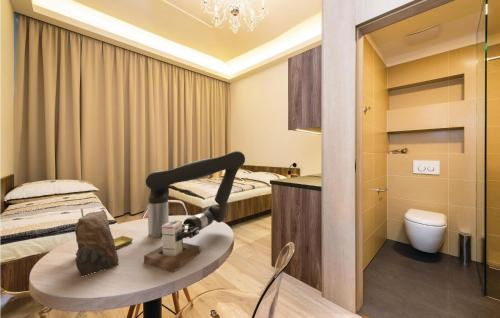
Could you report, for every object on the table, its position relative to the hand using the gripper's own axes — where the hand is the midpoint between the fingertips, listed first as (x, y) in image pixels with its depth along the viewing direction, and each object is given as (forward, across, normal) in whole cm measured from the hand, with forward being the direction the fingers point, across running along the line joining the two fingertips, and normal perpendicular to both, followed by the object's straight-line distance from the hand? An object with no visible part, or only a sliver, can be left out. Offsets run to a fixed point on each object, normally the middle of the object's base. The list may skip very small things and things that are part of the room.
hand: (168, 236), depth 81 cm
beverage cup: (+11, -36, +10) cm, 39 cm away
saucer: (-1, -33, +10) cm, 35 cm away
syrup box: (-2, 0, +10) cm, 10 cm away
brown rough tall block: (+14, -21, +10) cm, 27 cm away
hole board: (-2, 0, +10) cm, 10 cm away
